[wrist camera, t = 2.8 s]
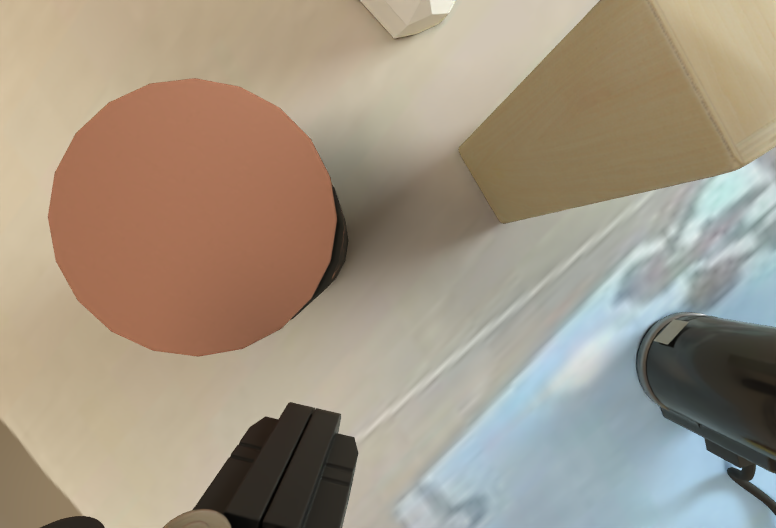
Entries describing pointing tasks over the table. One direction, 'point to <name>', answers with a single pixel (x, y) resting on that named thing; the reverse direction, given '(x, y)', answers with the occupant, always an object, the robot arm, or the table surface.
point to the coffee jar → (195, 218)
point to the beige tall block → (632, 106)
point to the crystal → (408, 14)
